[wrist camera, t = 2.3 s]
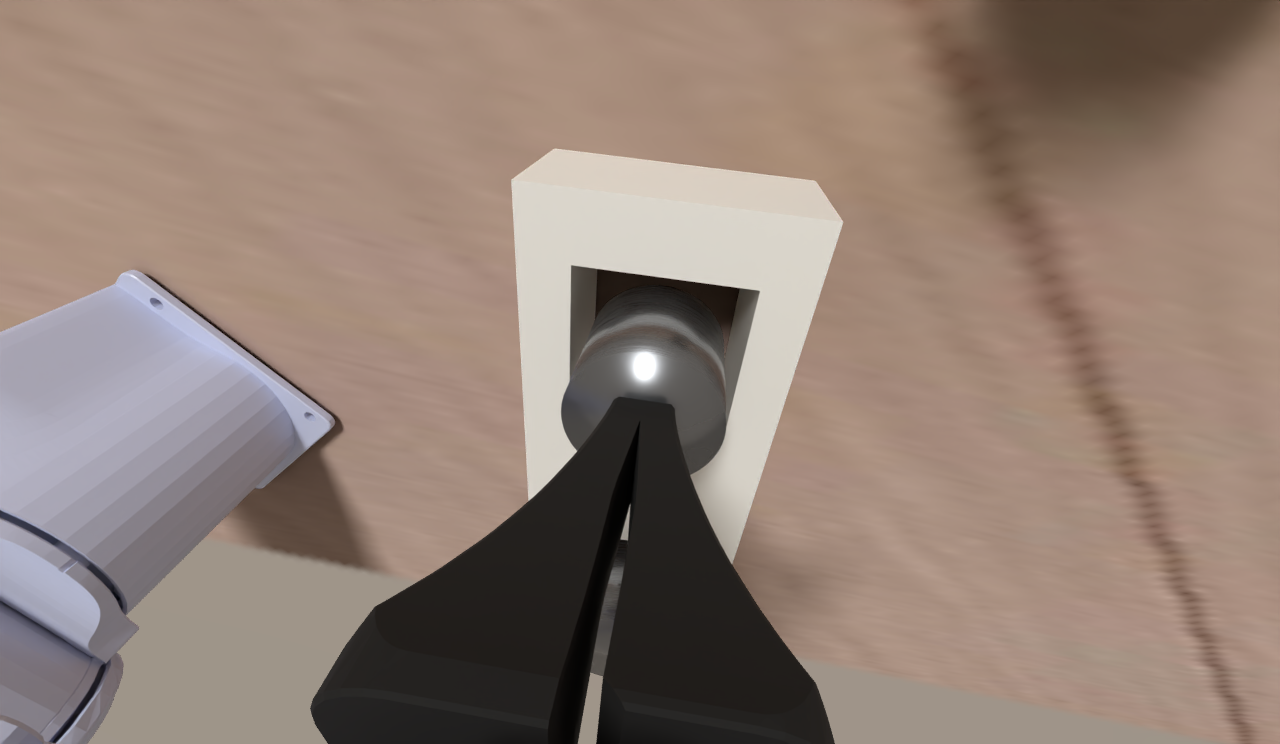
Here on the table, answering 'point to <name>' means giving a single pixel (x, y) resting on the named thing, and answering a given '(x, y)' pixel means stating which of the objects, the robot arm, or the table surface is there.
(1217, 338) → the table surface
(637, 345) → the peg
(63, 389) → the robot arm
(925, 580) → the table surface
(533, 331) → the band board
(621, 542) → the peg
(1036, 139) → the table surface
